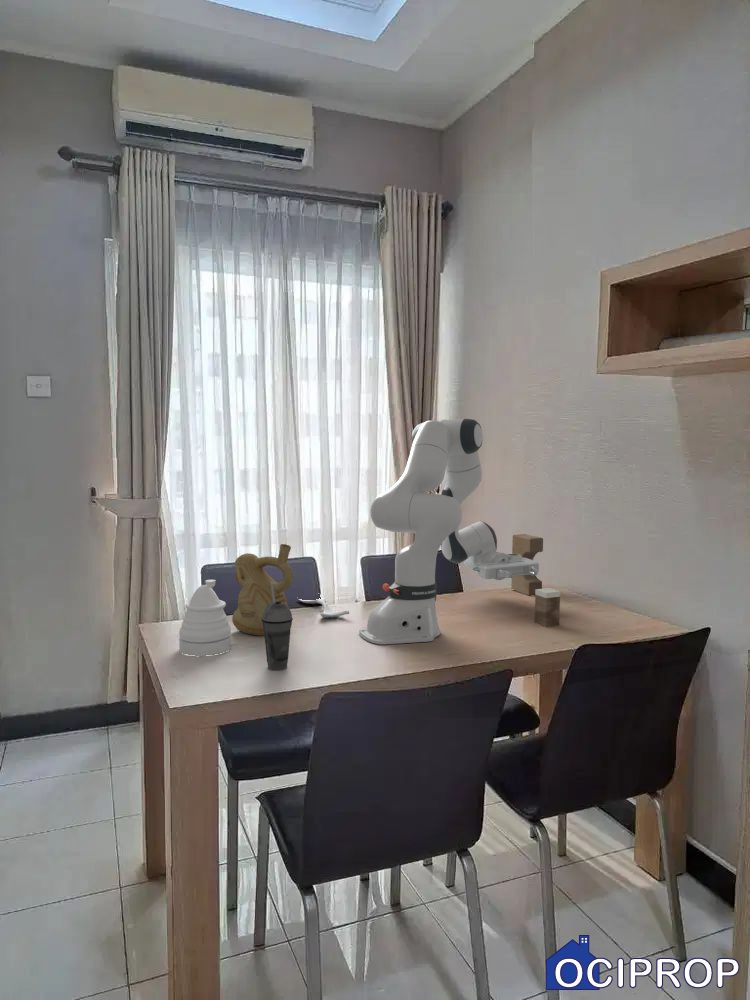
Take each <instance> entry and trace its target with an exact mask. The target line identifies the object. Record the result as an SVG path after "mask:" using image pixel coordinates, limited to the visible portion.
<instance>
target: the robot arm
mask: <svg viewBox="0 0 750 1000" xmlns="http://www.w3.org/2000/svg"><path fill="white" fill-rule="evenodd" d="M483 434H484V433H483V429H482V427H481V424H480V423H479V422H478V421H477V420H475V419H471V418H464V419H454V418H453V419H439V420H434V419H433V420H426V421H425V422H421V423H419V424H417V425H416V426H415V427H414V429H413V430H412V433H411V448H410V452H409V455H408V460H407V462H406V466H405V468H404V471H403V473H402V474H401V476H400V477H399V479H398V480H397V481H396V482H395V484H393V485H392V486H391V487H390V488H389V489H387V490H385V492H382V493H380V494H378V495H377V496H376V497H375V498H374V499H373V501H372V503H371V505H370V518H371V521H372V523H373V524H374V526H375V527H376V528H378V529H379V530H380V529H381V530H384V531H389V532H390V533H391V532H395V533H405V534H406V533H409V534H415V538H414V541H413V543H411V544H408V545H406V546H404V547H403V548H401V549H400V550H399V551H397V553H396V555H395V559H394V582H393V583H392V584H391V585H390V584H388V583H383V585H382V587H381V588H382V590H383V591H385V592H388V596H387V597H386V598H385V599H384V600H383V601H382V602H380V603H379V604H378V605H377V606H376V607H374V608H373V609H371V611H370V612H369V615H368V618H367V624H366V627H362V628H360V629H359V636H360V637H361V638H362V639H363V640H365V641H368V642H370V643H372V644H375V645H394V644H397V645H398V644H407V643H408V644H410V643H423V642H424V643H425V642H433V641H434V640H435V638H436V637H438V636H440V634H441V630H440V627H439V621H438V617H437V607H436V601H437V582H436V566H437V565H436V564H437V555H438V553H439V550H440V547H441V552H442V555H443V557H444V558H445V559H446V561H449V562H451V563H453V564H459V565H460V564H461V563H464V565H465V566H466V567H467V568H468V569H469V570H470V571H472V572H473V573H476V574H477V575H478V576H479V577H481V578H483V579H485V580H496V581H502V580H504V579H512V577H513V576H522V575H536V576H537V575H538V574H539V571H540V570H539V569H540V567H539V566H540V565H539V562H538V561H535V560H534V559H533V560H531V559H528V558H523V557H522V556H521V555H519V554H512V553H505V552H499V551H497V549H498V546H497V545H498V539H497V535H496V532H495V530H494V528H493V527H491V525H489V524H488V523H486V522H484V521H482V520H479V521H477V522H473V523H472V524H469V525H468V526H465V527H464V528H461V529H459V526H460V525H461V523H462V520H463V519H462V518H463V511H462V510H463V509H462V507H461V505H462V504H463V503H464V501H465V500H466V499H467V498H468V497H469V496H470V495H471V494H473V493H474V491H476V490H477V488H479V486H480V484H481V483H482V482H481V481H482V477H483V473H482V471H483V470H482V465H481V461H480V456H479V452H478V451H479V449H480V448H481V447H482V444H483V440H484V437H483V436H484V435H483ZM445 474H446V479H445V485H444V488H443V489H442V490H441V492H440V493H430V492H432V491H434V490H435V489H437V488H438V487H439V486H440V485H441V484H442V483H443V482H444V478H445Z"/></svg>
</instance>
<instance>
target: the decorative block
mask: <svg viewBox="0 0 750 1000" xmlns="http://www.w3.org/2000/svg"><path fill="white" fill-rule="evenodd" d="M511 542H512V547H511V548H512V549H511V552H512V553H511V554H519V555H521V556H522V557H523V558H528V559H531V560H534V558H535V556H536V555H538V553H542V552H543V551H544V538H543V537H539V536H535V535H530V534H526V533H521V534H520V533H519V534H513V535H512V540H511ZM512 589H514V590H516V591H515V592H517V591H518V592H517V593H520V592H521V593H520V594H523V595H525V594H527V595H526V596H528V595H529V597H532V596H531V595H534V596H535V589H543V581H542V580H540V579H539V578H538V577H537V575H522V576H513V577H512V578H511V590H512ZM514 590H513V591H514Z"/></svg>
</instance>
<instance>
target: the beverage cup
mask: <svg viewBox="0 0 750 1000" xmlns="http://www.w3.org/2000/svg"><path fill="white" fill-rule="evenodd" d="M271 591H272V598H273V603H271V604H269V605H268V606H267V607H266V608H265V610H264V612H263V615H262V624H263V628H264V644H265V654H266V663H267V669H268V670H271V671H283V670H286V669H287V668H288V663H289V662H288V661H289V653H290V652H289V651H290V640H291V628H292V624H293V620H294V619H293V614H292V611H291V609H290V607H289V605H288V604H287V605H288V606H287V605H286V604H284V603H282V602H275V597H274V589H273V584H271Z"/></svg>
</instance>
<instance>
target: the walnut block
mask: <svg viewBox="0 0 750 1000" xmlns="http://www.w3.org/2000/svg"><path fill="white" fill-rule="evenodd" d="M560 611H561V590H557V589H553V588H550V587H547V588H546V587H545V588H542V589H535V595H534V623H535V624H536V623H537V624H536V625H539V624H540V625H539V626H541V625H542V627H544V626H545V627H544V628H550V627H558V626H560V615H561V614H560V613H561V612H560ZM549 626H550V627H549Z"/></svg>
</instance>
